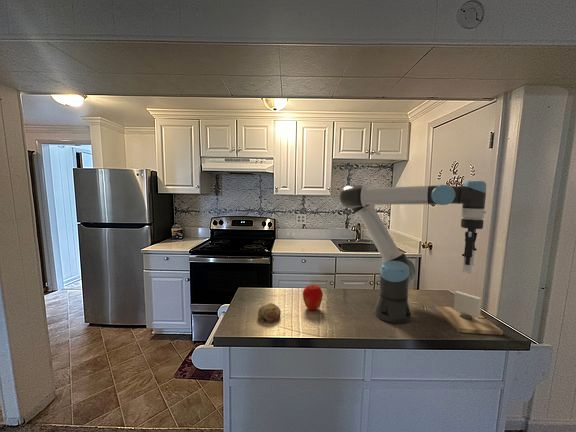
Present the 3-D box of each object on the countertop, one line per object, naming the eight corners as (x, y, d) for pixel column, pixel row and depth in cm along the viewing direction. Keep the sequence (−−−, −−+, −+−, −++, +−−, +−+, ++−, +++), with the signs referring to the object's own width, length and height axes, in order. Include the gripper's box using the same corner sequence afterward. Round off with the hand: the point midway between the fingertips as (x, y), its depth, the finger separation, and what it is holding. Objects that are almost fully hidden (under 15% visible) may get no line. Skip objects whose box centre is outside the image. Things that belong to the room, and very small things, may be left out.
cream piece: (476, 323, 105) (478, 299, 104) (452, 314, 112) (453, 292, 111) (485, 317, 110) (487, 294, 109) (462, 309, 118) (463, 288, 117)
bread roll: (256, 326, 111) (252, 314, 107) (265, 308, 119) (261, 295, 115) (277, 331, 107) (274, 318, 104) (285, 311, 116) (282, 299, 112)
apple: (321, 304, 124) (321, 280, 123) (323, 313, 115) (324, 287, 114) (302, 304, 125) (302, 280, 123) (303, 313, 116) (303, 287, 114)
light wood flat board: (458, 332, 101) (458, 327, 101) (435, 309, 121) (435, 305, 120) (502, 334, 99) (503, 330, 99) (472, 311, 119) (472, 307, 119)
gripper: (482, 221, 94) (477, 278, 96) (484, 217, 113) (480, 263, 115) (458, 220, 99) (454, 273, 101) (464, 216, 118) (460, 260, 120)
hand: (468, 268), depth 108 cm, fingers open, 13 cm apart
